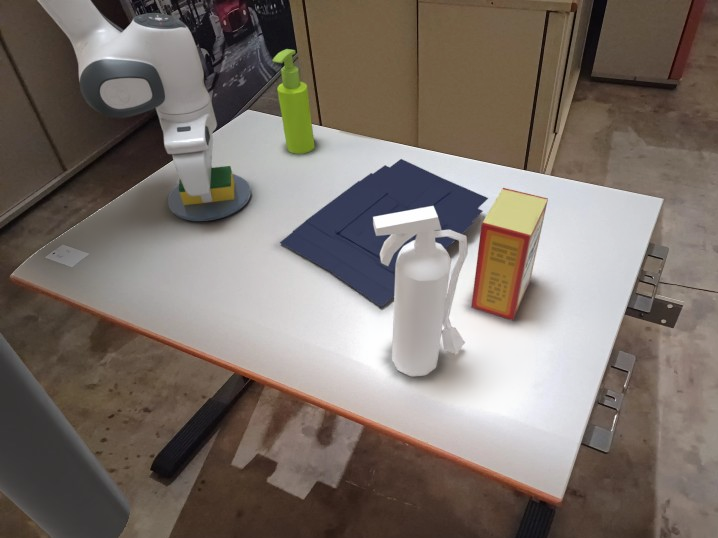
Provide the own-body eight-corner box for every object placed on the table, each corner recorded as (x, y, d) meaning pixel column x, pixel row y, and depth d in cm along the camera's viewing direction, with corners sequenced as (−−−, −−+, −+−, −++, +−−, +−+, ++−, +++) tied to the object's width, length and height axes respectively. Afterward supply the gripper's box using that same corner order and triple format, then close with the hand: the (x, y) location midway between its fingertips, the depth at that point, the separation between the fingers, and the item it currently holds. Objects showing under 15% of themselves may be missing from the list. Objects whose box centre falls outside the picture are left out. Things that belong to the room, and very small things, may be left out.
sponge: (184, 205, 101) (178, 188, 98) (186, 187, 105) (180, 171, 102) (234, 199, 102) (230, 182, 99) (234, 182, 106) (230, 165, 104)
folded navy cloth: (496, 214, 98) (497, 198, 96) (384, 319, 85) (382, 304, 82) (395, 167, 110) (393, 151, 107) (282, 253, 96) (277, 238, 94)
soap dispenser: (279, 153, 116) (262, 56, 102) (295, 138, 121) (281, 43, 107) (303, 158, 115) (289, 60, 101) (319, 143, 119) (308, 47, 105)
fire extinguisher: (471, 372, 75) (492, 223, 57) (383, 384, 73) (377, 235, 56) (459, 335, 80) (475, 187, 62) (376, 345, 78) (369, 197, 61)
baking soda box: (490, 269, 90) (503, 185, 78) (530, 281, 88) (548, 196, 77) (471, 307, 84) (481, 221, 72) (512, 320, 82) (530, 234, 70)
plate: (166, 228, 98) (164, 222, 97) (173, 183, 108) (170, 177, 107) (252, 218, 100) (250, 211, 99) (250, 174, 111) (249, 168, 110)
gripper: (173, 94, 100) (194, 162, 109) (163, 150, 85) (187, 222, 95) (209, 91, 101) (226, 158, 110) (204, 146, 86) (225, 218, 96)
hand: (208, 188), depth 103 cm, fingers closed on sponge, 6 cm apart
